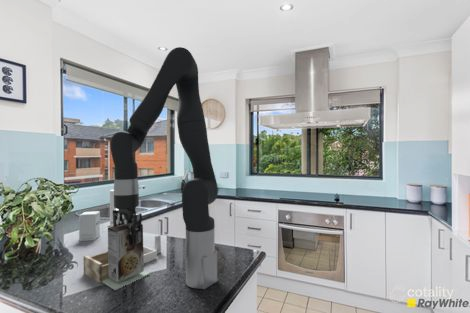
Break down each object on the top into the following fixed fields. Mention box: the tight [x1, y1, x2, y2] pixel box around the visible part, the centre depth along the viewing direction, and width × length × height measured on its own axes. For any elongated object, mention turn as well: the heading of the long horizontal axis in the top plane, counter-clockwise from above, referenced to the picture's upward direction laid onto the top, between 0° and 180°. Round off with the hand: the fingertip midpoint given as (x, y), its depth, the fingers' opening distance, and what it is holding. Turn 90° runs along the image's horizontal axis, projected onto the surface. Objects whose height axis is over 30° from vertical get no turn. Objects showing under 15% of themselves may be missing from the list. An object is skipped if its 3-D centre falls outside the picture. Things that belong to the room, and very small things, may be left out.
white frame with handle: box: [143, 234, 162, 264], centre depth 98 cm, size 9×17×7 cm, turn 143°
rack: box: [83, 250, 110, 284], centre depth 88 cm, size 12×14×6 cm
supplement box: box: [78, 210, 101, 242], centre depth 123 cm, size 7×7×13 cm
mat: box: [102, 270, 151, 291], centre depth 82 cm, size 8×12×1 cm, turn 143°
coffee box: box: [107, 223, 145, 282], centre depth 82 cm, size 9×6×16 cm
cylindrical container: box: [109, 188, 117, 227], centre depth 114 cm, size 7×7×25 cm
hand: (126, 242), depth 82 cm, fingers closed on coffee box, 6 cm apart
